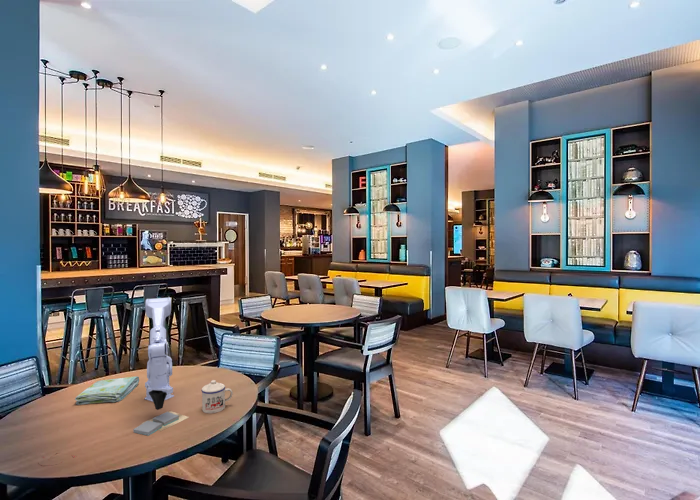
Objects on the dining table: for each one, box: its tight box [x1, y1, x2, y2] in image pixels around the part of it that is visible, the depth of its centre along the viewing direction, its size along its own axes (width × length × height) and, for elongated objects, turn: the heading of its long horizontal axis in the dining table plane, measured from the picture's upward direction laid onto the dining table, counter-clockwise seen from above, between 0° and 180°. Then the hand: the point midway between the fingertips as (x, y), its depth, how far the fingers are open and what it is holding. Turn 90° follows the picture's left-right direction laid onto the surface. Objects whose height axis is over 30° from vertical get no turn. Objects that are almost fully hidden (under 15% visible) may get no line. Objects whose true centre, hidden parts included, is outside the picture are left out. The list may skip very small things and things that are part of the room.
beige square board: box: [140, 410, 190, 432], centre depth 141 cm, size 12×12×1 cm
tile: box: [152, 411, 179, 426], centre depth 141 cm, size 1×6×7 cm
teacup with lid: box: [200, 379, 234, 414], centre depth 151 cm, size 12×9×12 cm
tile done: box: [132, 420, 162, 437], centre depth 134 cm, size 7×6×1 cm
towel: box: [74, 375, 140, 406], centre depth 167 cm, size 18×21×5 cm
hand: (159, 408), depth 143 cm, fingers closed
